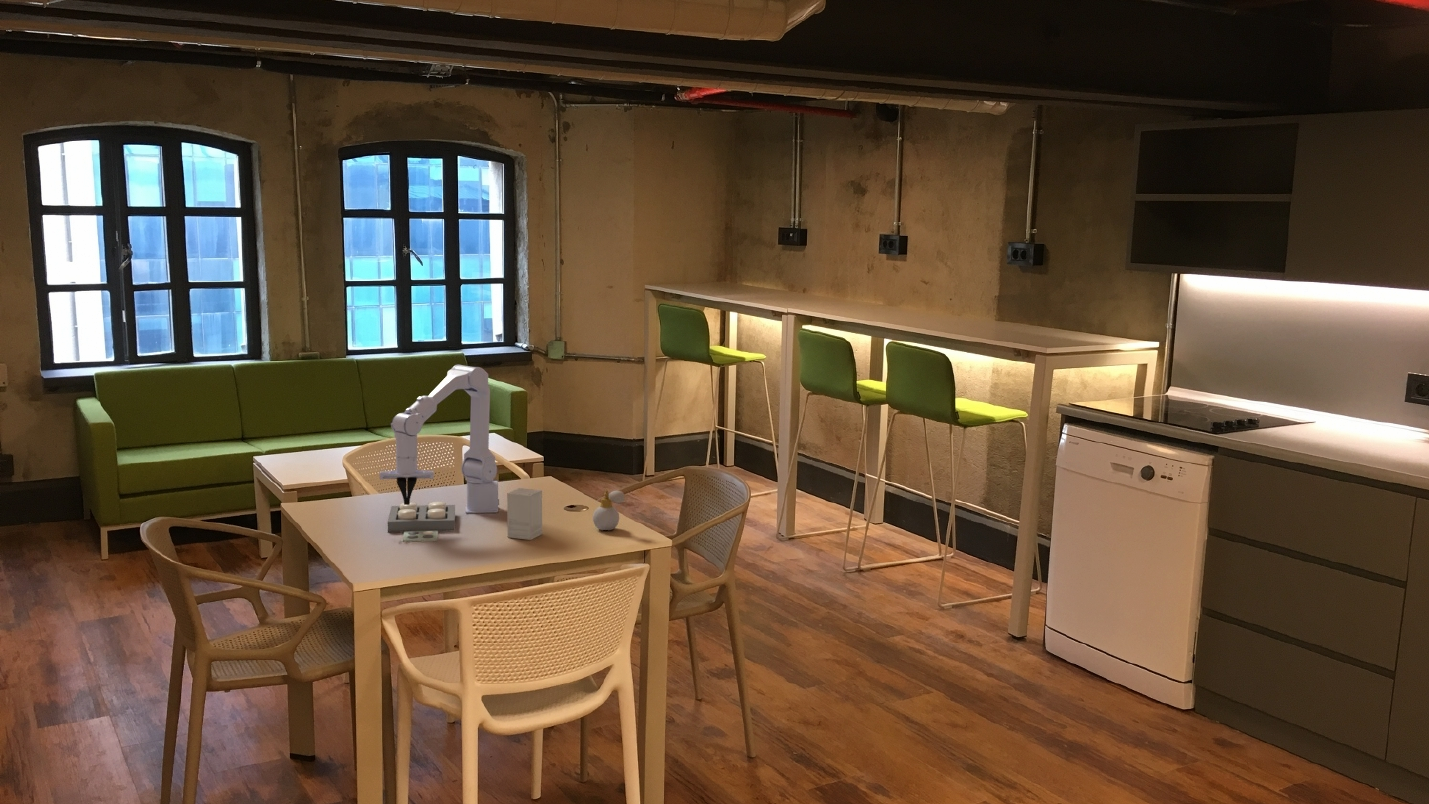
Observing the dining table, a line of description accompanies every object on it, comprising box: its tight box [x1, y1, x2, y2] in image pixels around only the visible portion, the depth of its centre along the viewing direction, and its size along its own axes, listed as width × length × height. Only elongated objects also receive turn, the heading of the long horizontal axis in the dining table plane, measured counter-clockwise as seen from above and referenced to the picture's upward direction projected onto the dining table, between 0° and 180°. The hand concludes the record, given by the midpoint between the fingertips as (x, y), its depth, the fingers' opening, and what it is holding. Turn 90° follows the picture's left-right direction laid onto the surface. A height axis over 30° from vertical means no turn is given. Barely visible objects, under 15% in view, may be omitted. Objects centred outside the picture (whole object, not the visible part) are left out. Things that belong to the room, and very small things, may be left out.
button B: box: [428, 509, 445, 519], centre depth 330 cm, size 5×5×3 cm
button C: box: [399, 501, 418, 512], centre depth 336 cm, size 5×5×3 cm
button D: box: [428, 501, 447, 512], centre depth 338 cm, size 5×5×3 cm
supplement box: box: [506, 487, 543, 541], centre depth 323 cm, size 7×7×13 cm
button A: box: [398, 509, 416, 520], centre depth 329 cm, size 5×5×3 cm
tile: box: [402, 530, 439, 543], centre depth 320 cm, size 9×9×1 cm
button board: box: [387, 504, 456, 533], centre depth 334 cm, size 18×18×3 cm
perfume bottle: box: [592, 489, 626, 531], centre depth 332 cm, size 8×10×12 cm
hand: (406, 504), depth 328 cm, fingers closed
